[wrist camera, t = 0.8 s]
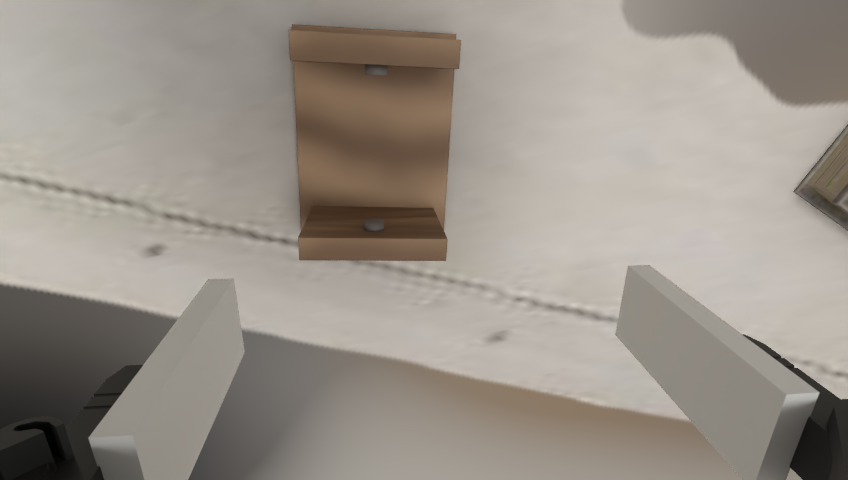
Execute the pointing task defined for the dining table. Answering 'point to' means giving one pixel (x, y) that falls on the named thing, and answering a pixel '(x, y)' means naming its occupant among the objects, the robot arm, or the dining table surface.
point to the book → (829, 182)
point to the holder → (372, 141)
